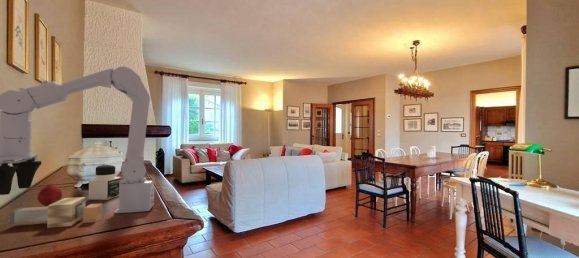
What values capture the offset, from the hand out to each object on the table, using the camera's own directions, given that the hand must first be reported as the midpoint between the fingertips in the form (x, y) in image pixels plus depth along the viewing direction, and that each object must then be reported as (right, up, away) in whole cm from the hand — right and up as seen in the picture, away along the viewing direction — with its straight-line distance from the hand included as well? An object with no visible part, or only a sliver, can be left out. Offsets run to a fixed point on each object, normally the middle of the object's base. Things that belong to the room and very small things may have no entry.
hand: (14, 191), depth 67 cm
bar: (+7, -8, +2) cm, 11 cm away
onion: (-6, -9, +17) cm, 20 cm away
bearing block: (+11, -9, +3) cm, 15 cm away
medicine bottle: (+2, -10, +30) cm, 31 cm away
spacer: (+15, -7, +5) cm, 17 cm away
